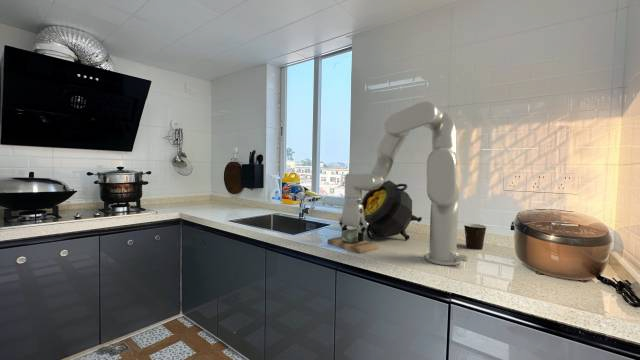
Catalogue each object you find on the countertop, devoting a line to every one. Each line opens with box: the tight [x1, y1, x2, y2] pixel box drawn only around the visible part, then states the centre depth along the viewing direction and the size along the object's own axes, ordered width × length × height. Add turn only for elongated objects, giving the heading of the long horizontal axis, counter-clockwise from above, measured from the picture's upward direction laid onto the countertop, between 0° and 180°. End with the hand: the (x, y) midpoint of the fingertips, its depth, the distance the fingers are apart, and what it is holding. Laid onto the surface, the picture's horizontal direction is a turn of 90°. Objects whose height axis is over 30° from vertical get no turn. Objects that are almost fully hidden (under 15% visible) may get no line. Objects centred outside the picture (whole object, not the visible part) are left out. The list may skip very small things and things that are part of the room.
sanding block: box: [341, 227, 365, 244], centre depth 127 cm, size 5×9×5 cm, turn 130°
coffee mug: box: [464, 223, 487, 251], centre depth 125 cm, size 12×9×10 cm
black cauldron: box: [361, 179, 423, 241], centre depth 142 cm, size 28×28×24 cm
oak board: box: [327, 235, 380, 255], centre depth 127 cm, size 20×12×2 cm, turn 41°
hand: (352, 238), depth 127 cm, fingers open, 9 cm apart
